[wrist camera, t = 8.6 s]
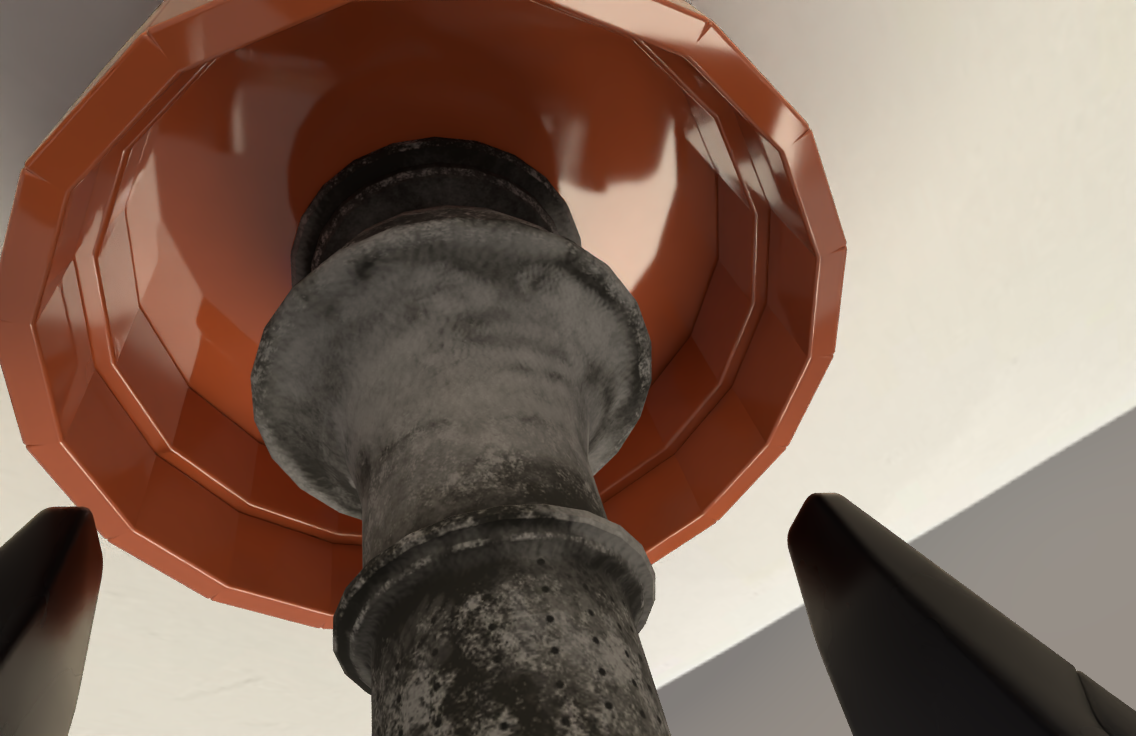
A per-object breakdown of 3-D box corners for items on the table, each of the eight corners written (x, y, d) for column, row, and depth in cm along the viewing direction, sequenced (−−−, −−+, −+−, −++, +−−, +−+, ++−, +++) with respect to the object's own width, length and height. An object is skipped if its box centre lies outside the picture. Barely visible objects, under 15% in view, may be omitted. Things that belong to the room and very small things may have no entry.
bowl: (134, 489, 16) (83, 658, 13) (8, -207, 9) (-163, -192, 6) (650, 483, 20) (704, 614, 17) (842, -26, 13) (995, 40, 10)
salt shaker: (610, 114, 13) (1261, 1008, 4) (586, 384, 16) (879, 1175, 7) (239, 123, 12) (-210, 1495, 2) (302, 412, 15) (218, 1401, 6)
